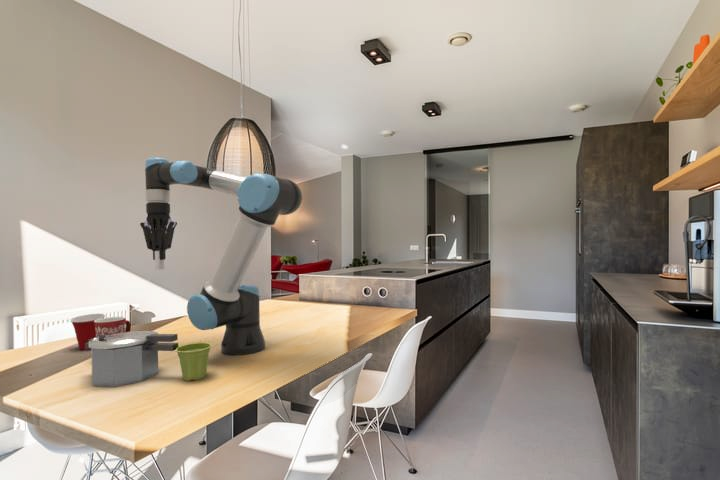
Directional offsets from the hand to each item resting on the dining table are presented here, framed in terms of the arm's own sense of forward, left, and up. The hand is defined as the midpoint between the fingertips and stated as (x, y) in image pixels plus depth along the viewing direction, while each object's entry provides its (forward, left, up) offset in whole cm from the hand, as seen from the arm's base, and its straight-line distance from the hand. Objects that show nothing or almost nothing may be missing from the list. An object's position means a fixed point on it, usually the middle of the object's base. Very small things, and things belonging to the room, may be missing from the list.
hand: (159, 269), depth 138 cm
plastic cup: (+32, -3, -30) cm, 44 cm away
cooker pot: (-8, +24, -29) cm, 39 cm away
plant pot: (-27, +23, -30) cm, 46 cm away
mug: (+12, +7, -30) cm, 33 cm away
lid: (-9, +24, -19) cm, 32 cm away
